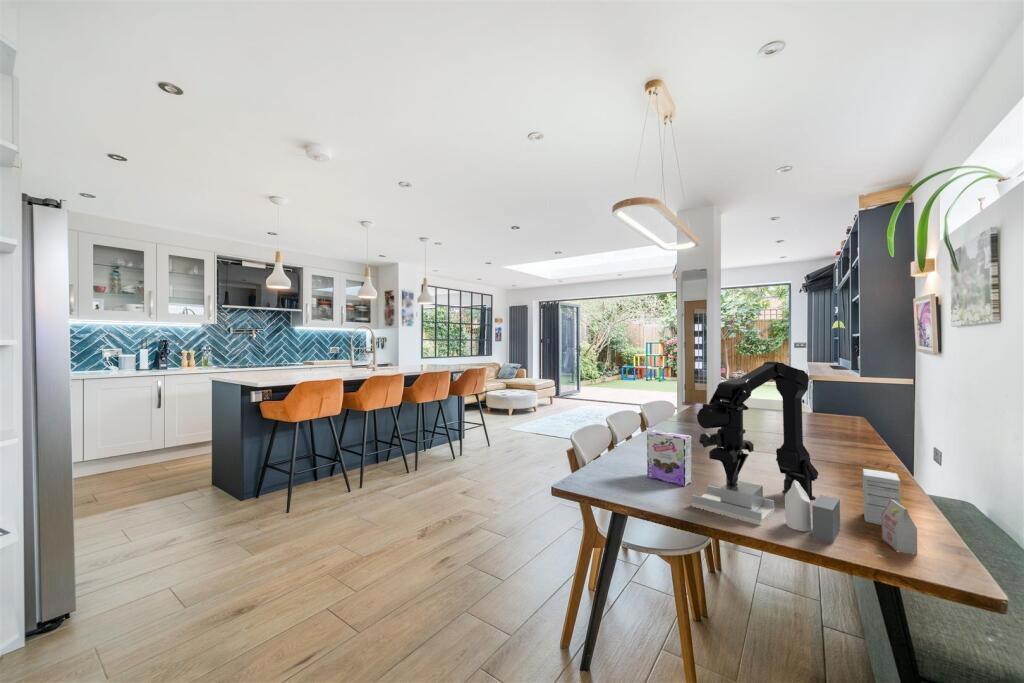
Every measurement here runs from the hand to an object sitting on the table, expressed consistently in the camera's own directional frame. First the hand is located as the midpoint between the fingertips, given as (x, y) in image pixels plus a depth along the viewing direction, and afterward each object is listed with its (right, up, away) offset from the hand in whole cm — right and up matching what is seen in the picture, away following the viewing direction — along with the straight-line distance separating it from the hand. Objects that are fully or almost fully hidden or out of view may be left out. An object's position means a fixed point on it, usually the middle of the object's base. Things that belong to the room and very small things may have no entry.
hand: (732, 479), depth 119 cm
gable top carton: (+27, -9, -22) cm, 36 cm away
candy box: (-9, -9, +25) cm, 28 cm away
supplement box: (+36, -8, -8) cm, 38 cm away
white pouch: (+11, -9, -11) cm, 18 cm away
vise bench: (+5, -8, -5) cm, 11 cm away
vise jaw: (+2, -7, -2) cm, 7 cm away
